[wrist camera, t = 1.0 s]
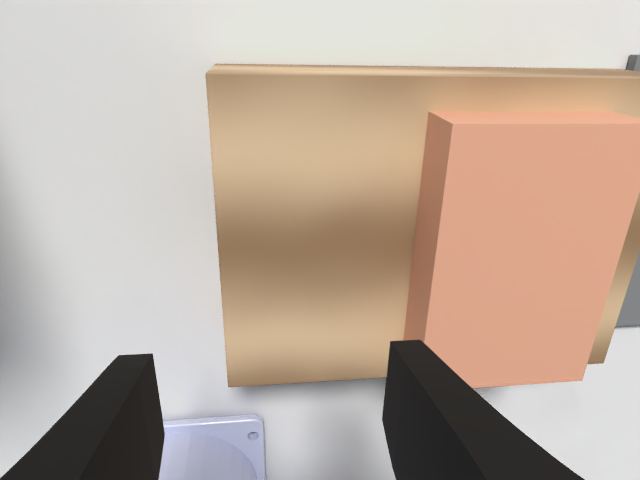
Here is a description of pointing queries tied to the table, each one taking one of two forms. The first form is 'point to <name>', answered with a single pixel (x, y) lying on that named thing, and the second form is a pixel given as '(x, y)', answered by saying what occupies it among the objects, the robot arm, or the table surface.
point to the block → (519, 239)
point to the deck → (352, 202)
